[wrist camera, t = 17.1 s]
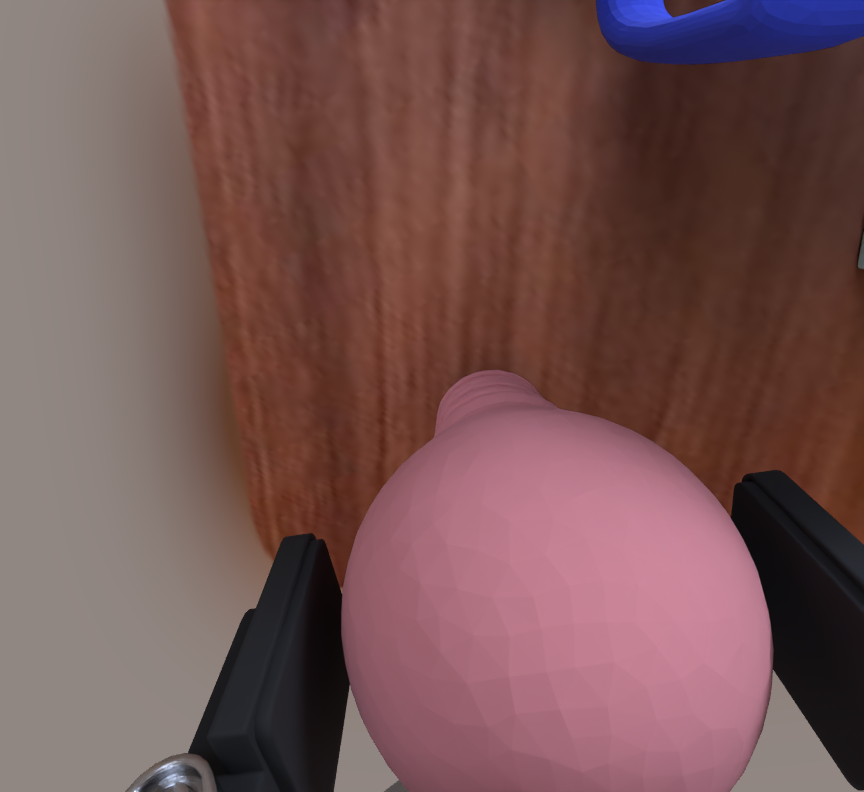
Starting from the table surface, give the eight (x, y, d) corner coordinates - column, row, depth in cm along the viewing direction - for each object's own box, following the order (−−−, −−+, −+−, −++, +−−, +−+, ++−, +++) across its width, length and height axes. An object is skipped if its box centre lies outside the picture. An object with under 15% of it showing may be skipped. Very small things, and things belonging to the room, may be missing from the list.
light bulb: (465, 249, 15) (555, 498, 4) (645, 376, 17) (1046, 788, 6) (342, 428, 18) (198, 880, 7) (510, 523, 19) (615, 1007, 8)
